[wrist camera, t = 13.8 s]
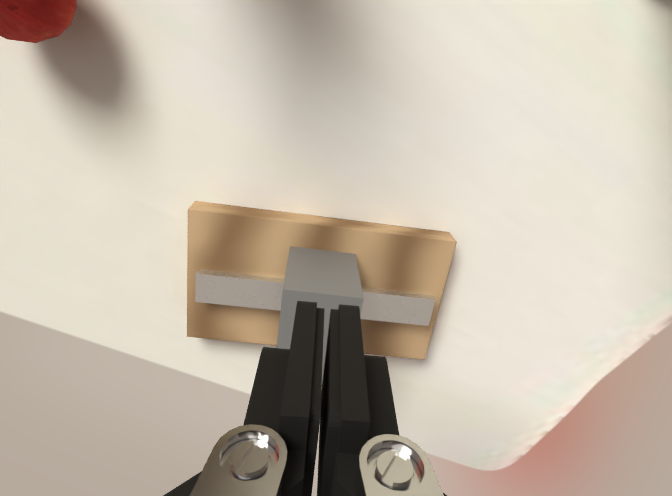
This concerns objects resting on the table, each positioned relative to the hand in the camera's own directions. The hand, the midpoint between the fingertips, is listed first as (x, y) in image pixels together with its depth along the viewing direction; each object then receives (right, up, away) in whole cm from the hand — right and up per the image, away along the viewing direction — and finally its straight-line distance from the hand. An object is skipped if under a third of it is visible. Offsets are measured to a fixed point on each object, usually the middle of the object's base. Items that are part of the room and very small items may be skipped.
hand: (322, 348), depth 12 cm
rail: (-1, -1, +22) cm, 22 cm away
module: (-1, -1, +22) cm, 22 cm away
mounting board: (-1, 0, +24) cm, 24 cm away
